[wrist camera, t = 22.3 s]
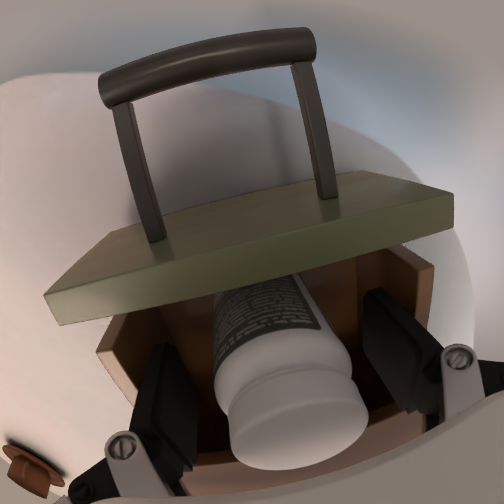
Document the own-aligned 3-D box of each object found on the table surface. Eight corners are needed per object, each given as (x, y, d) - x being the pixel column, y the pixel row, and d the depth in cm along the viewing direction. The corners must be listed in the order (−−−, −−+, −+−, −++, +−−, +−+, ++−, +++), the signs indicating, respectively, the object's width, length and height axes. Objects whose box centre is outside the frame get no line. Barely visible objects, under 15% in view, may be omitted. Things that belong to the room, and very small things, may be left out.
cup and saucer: (-6, 429, 21) (-18, 455, 15) (51, 456, 23) (41, 488, 17) (23, 463, 25) (15, 486, 19) (76, 485, 27) (70, 511, 21)
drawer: (80, 118, 11) (-9, 109, 5) (338, 57, 11) (417, 10, 5) (197, 412, 18) (196, 489, 12) (368, 368, 19) (408, 434, 12)
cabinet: (162, 356, 17) (142, 467, 9) (373, 303, 18) (445, 389, 10) (226, 457, 23) (232, 527, 15) (364, 422, 23) (394, 486, 15)
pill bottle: (196, 313, 14) (185, 461, 6) (247, 237, 13) (287, 368, 5) (271, 348, 15) (306, 479, 8) (323, 284, 14) (407, 406, 6)
